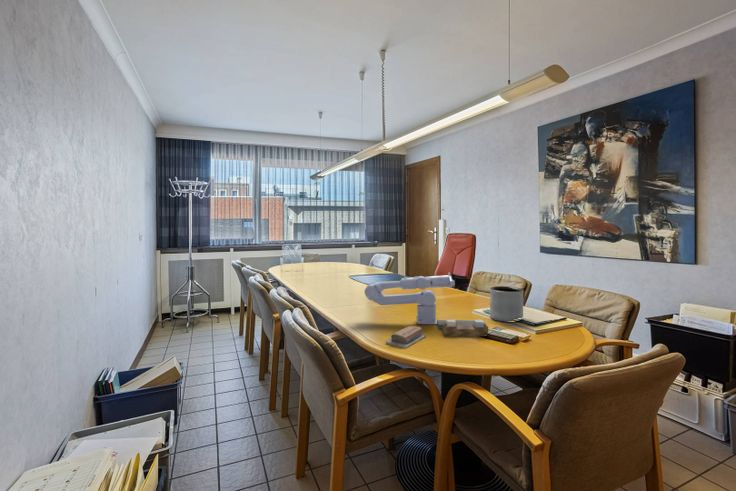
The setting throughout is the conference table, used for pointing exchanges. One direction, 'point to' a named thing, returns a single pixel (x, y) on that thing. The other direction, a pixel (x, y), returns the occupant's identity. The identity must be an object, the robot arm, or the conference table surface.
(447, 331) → the brown grey lumpy bar
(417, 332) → the packaged product
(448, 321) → the crate cream
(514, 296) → the planter
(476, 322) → the crate greyblue
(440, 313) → the conference table surface
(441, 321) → the dock
